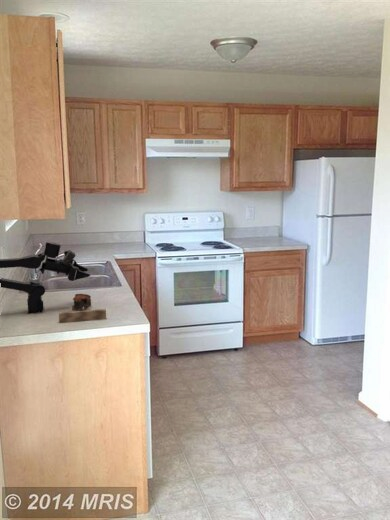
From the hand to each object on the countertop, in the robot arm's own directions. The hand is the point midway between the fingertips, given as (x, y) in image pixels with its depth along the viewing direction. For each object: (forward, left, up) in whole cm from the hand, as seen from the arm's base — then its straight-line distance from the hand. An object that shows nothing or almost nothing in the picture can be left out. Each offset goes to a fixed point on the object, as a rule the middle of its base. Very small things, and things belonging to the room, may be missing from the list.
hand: (88, 272), depth 226 cm
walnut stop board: (-4, -22, -17) cm, 28 cm away
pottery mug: (-4, -3, -17) cm, 18 cm away
